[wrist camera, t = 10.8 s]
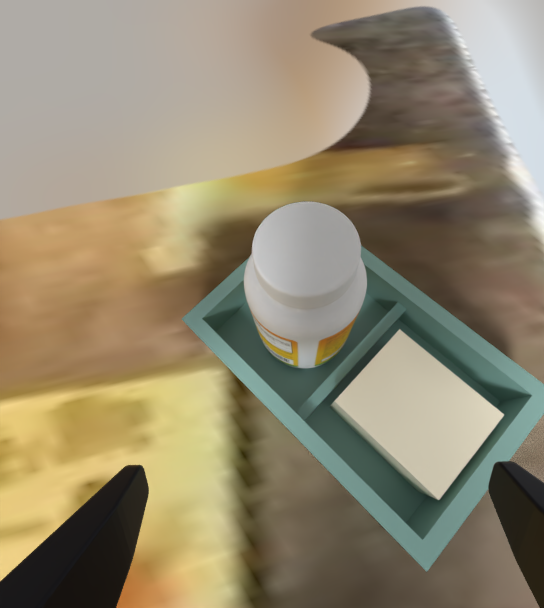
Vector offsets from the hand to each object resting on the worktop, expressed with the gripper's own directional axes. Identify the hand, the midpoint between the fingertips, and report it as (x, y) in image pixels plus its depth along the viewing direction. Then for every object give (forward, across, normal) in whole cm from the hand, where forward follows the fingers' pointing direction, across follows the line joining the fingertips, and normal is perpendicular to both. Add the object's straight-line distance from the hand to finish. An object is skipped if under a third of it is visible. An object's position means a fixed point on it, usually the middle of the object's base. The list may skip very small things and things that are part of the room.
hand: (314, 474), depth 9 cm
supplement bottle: (+13, 0, +2) cm, 13 cm away
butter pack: (+9, -6, +6) cm, 12 cm away
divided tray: (+12, -3, +4) cm, 13 cm away
